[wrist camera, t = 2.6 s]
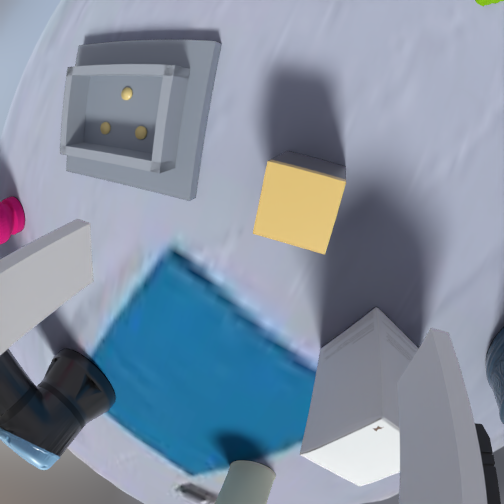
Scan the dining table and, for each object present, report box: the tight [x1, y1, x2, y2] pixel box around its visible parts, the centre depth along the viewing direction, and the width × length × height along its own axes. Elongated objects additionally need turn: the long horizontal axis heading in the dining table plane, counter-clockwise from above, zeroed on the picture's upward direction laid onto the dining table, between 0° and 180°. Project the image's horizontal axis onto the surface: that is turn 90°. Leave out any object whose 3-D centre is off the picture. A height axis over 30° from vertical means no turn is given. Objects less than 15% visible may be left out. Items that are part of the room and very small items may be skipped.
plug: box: [253, 151, 346, 254], centre depth 26 cm, size 6×6×8 cm
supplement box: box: [300, 307, 419, 486], centre depth 28 cm, size 9×9×15 cm
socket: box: [60, 40, 222, 201], centre depth 29 cm, size 16×18×4 cm
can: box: [215, 460, 276, 504], centre depth 47 cm, size 9×9×12 cm
